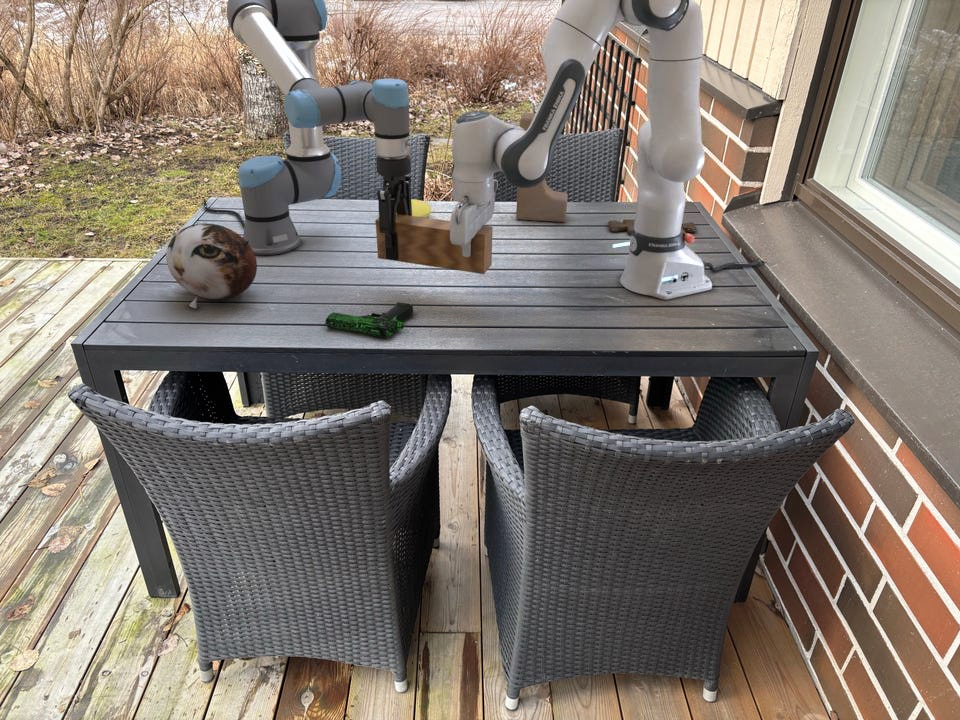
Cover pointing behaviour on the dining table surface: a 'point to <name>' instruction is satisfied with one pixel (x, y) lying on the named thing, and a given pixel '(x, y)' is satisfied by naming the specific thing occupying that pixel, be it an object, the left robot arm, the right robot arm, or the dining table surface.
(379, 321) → the handgun
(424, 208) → the yellow pattypan squash
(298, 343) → the dining table surface
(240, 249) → the cat face balloon
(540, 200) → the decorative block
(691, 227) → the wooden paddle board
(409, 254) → the bar
